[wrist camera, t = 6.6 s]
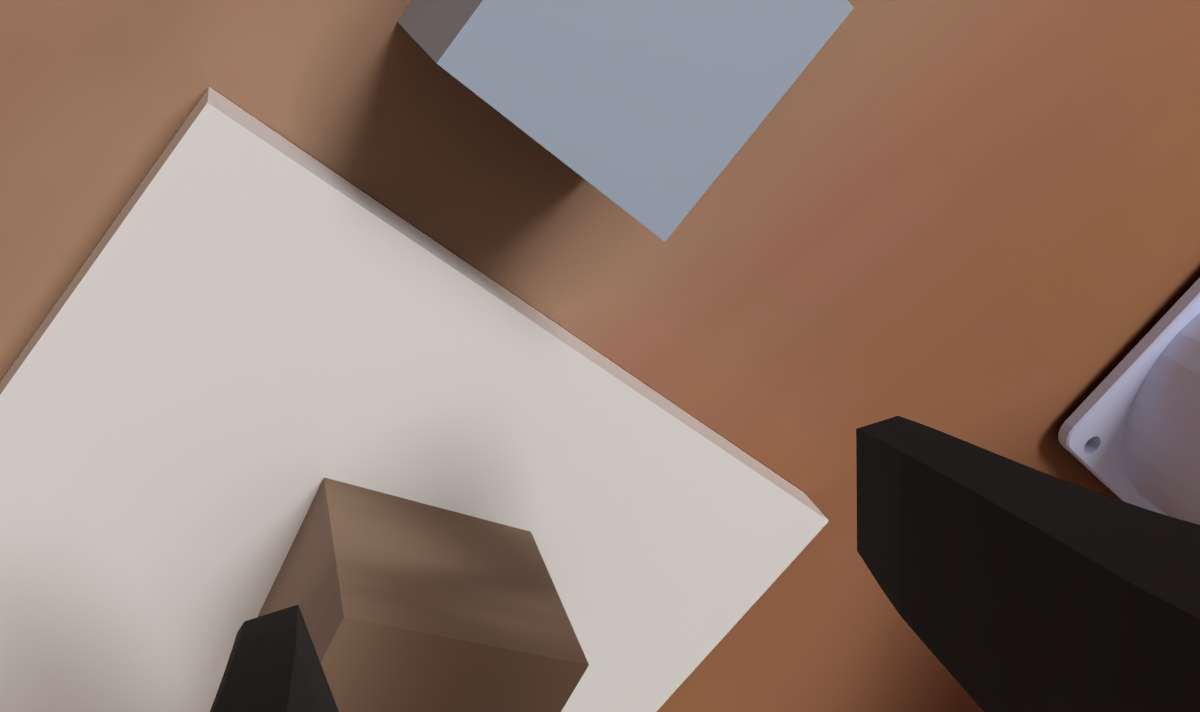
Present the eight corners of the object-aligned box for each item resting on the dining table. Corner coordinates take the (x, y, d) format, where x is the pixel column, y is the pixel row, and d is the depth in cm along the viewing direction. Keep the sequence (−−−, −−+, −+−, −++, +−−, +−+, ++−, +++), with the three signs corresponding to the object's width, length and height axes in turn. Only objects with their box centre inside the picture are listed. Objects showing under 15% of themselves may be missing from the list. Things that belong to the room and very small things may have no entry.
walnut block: (531, 531, 21) (589, 665, 17) (440, 695, 22) (478, 849, 18) (323, 477, 19) (343, 616, 15) (235, 661, 20) (236, 829, 16)
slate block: (740, -22, 18) (853, 7, 15) (589, 172, 19) (664, 241, 16) (560, -207, 16) (646, -224, 13) (396, 20, 17) (436, 63, 13)
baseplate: (804, 492, 24) (828, 521, 23) (480, 855, 26) (490, 894, 25) (209, 86, 16) (207, 102, 15) (-194, 655, 18) (-219, 703, 17)
